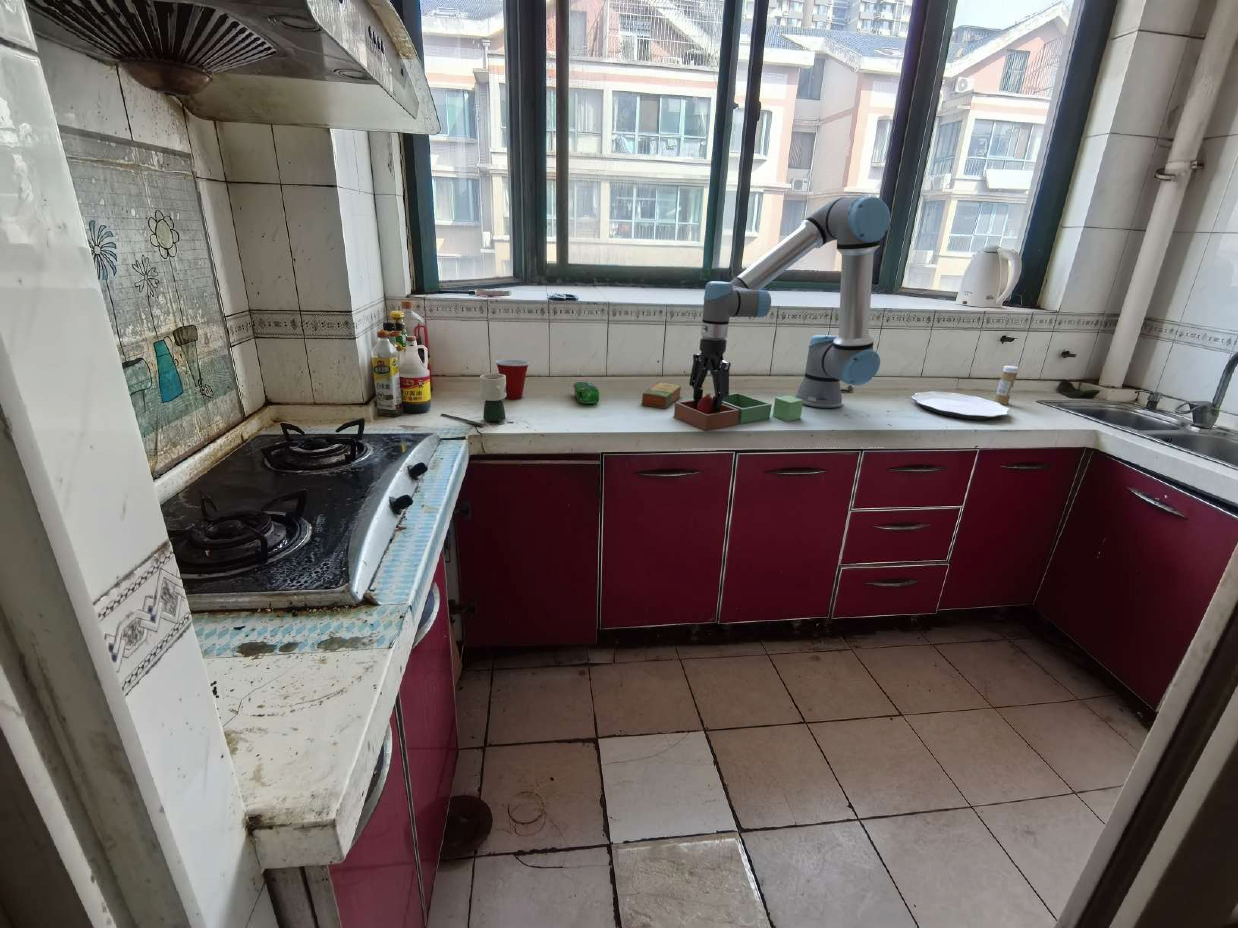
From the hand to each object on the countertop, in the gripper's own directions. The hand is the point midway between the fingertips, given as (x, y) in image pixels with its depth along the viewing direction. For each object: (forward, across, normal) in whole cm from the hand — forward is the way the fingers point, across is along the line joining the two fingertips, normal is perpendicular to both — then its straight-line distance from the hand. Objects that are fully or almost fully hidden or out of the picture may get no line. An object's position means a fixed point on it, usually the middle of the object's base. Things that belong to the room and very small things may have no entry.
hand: (705, 414), depth 178 cm
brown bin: (+2, 0, 0) cm, 2 cm away
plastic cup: (+2, -48, -41) cm, 63 cm away
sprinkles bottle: (+2, +33, +113) cm, 118 cm away
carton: (+2, -23, +1) cm, 23 cm away
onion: (+2, 0, 0) cm, 2 cm away
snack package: (+2, -35, -21) cm, 41 cm away
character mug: (+2, -28, -56) cm, 63 cm away
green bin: (+2, 0, +14) cm, 14 cm away
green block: (+2, +9, +26) cm, 28 cm away
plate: (+2, +30, +89) cm, 94 cm away
